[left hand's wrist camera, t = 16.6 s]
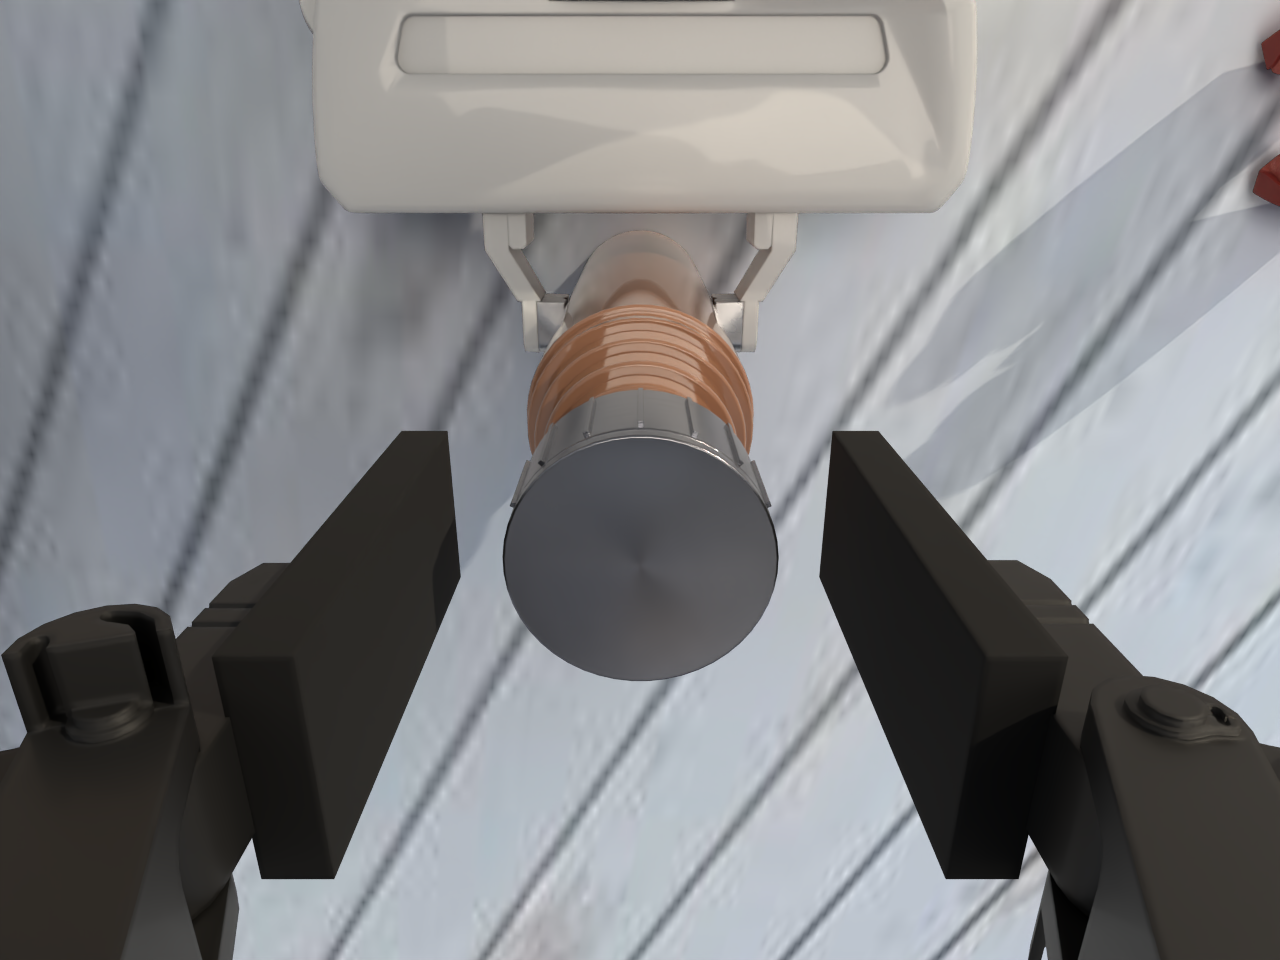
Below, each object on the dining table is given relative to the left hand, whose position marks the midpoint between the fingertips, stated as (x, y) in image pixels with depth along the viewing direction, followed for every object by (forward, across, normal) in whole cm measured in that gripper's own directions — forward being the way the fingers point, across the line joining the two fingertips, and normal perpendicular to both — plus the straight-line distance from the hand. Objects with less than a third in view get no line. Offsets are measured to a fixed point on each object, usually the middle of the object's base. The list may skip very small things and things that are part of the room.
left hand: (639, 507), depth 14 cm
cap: (-2, 0, 0) cm, 2 cm away
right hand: (+16, 0, -1) cm, 16 cm away
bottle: (+22, 0, 0) cm, 22 cm away
